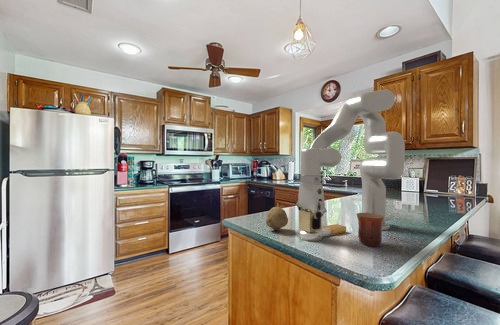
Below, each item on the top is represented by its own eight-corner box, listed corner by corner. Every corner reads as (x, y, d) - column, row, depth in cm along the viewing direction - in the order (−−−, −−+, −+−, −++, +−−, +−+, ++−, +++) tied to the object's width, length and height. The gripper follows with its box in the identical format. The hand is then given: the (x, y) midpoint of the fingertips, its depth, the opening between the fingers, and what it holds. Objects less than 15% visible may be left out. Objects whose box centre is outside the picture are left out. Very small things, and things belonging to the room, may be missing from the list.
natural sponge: (292, 230, 94) (292, 207, 94) (278, 235, 88) (278, 210, 88) (276, 226, 100) (276, 204, 100) (262, 230, 95) (262, 206, 95)
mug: (357, 238, 85) (357, 211, 85) (384, 242, 80) (384, 214, 80) (353, 248, 75) (353, 217, 75) (383, 254, 70) (383, 221, 70)
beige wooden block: (310, 226, 90) (310, 208, 90) (321, 230, 84) (321, 211, 84) (298, 228, 87) (298, 210, 87) (309, 232, 81) (309, 213, 81)
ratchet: (333, 228, 98) (333, 213, 98) (350, 233, 90) (350, 217, 90) (293, 235, 87) (293, 219, 87) (309, 242, 79) (309, 224, 79)
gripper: (335, 181, 80) (335, 231, 80) (302, 178, 95) (302, 220, 95) (320, 182, 76) (319, 234, 76) (288, 178, 91) (288, 222, 91)
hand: (310, 226), depth 86 cm, fingers closed on beige wooden block, 5 cm apart
